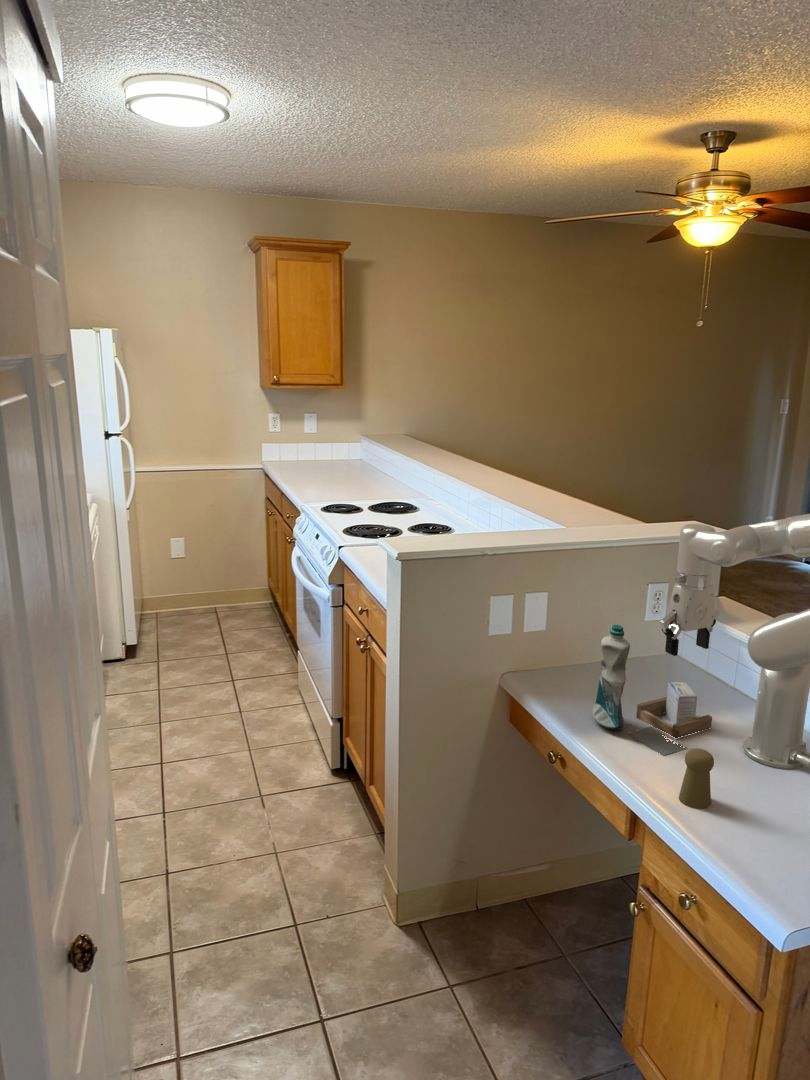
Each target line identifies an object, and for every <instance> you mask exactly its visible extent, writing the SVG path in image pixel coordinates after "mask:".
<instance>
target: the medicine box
mask: <svg viewBox="0 0 810 1080" xmlns="http://www.w3.org/2000/svg"><path fill="white" fill-rule="evenodd" d="M666 692H667V693H666V697H667V700H666V711H665V713H664V714H665V716H666V715H667V716H668V717H667V716H666V717H667V718H669V719H670V720H671V721H672V723H673V724H676V723H680V722H684V721H687V720H691V719H694V718H696V716H697V714H696V713H697V705H698V703H697V702H698V695H696V693H695V692H694V691H693V690H692V689H691V687H690V685H688V683H686V682H683V681H681V682H680V681H678V682H677V681H675V682H673V681H671V682H668V683H667V689H666ZM669 719H668V720H669ZM670 720H669V721H670ZM671 721H670V722H671ZM672 723H671V724H672ZM673 724H672V725H673Z"/></svg>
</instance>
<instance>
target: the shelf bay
mask: <svg viewBox="0 0 810 1080" xmlns="http://www.w3.org/2000/svg"><path fill="white" fill-rule="evenodd" d="M666 700H667V696H665V697H660V698H657V699H653V700H649V701H646V702H642V703H638V704H637V706H636V707H637V708H636V719H638V720H640V721H641V722H643V723H646V724H647V725H649V724H650V725H649V726H651V725H652V726H653V727H652V726H651V727H652V728H654V727H655V728H654V729H656V728H658V729H660V730H662V731H664V732H666V733H668V734H670V735H671V736H673V737H675V738H678V737H681V736H685V735H688V734H692V733H695V732H698V731H702V730H705V729H709V728H711V729H712V723H713V722H712V721H713V716H711V715H709V714H706V715H702V716H699V717H695V718H694V719H691V720H687V721H684V722H680V723H676V724H672V723H671V724H670V723H669V722H668V721H665V720H663V719H662V718H660V717H658V715H661V714H660V713H662V714H664V713H663V712H665V711H666ZM657 714H658V715H657ZM658 729H657V730H658ZM660 730H659V731H660ZM709 730H710V729H709ZM705 731H706V730H705ZM702 732H703V731H702ZM695 734H696V733H695ZM692 735H693V734H692Z"/></svg>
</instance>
